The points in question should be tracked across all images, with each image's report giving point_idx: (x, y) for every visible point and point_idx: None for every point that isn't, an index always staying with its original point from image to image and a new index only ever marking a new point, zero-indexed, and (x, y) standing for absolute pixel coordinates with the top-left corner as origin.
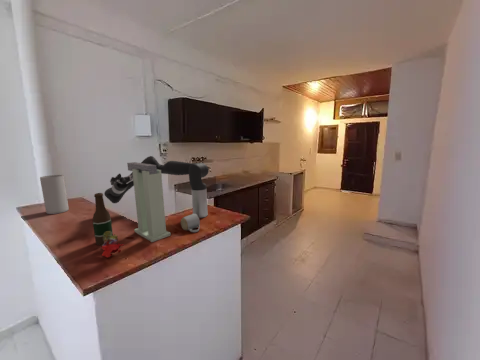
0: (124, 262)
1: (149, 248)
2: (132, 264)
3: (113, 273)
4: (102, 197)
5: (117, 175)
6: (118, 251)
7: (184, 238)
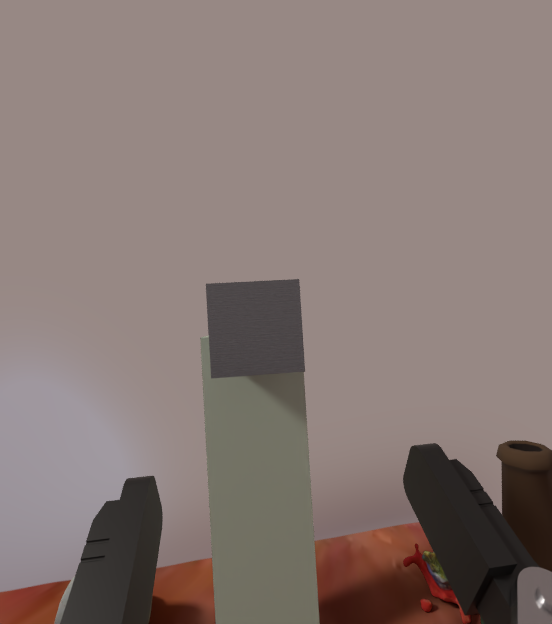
0: (401, 551)
1: (325, 582)
2: (380, 537)
3: (421, 528)
4: (502, 467)
5: (470, 479)
6: (430, 609)
7: (202, 582)
